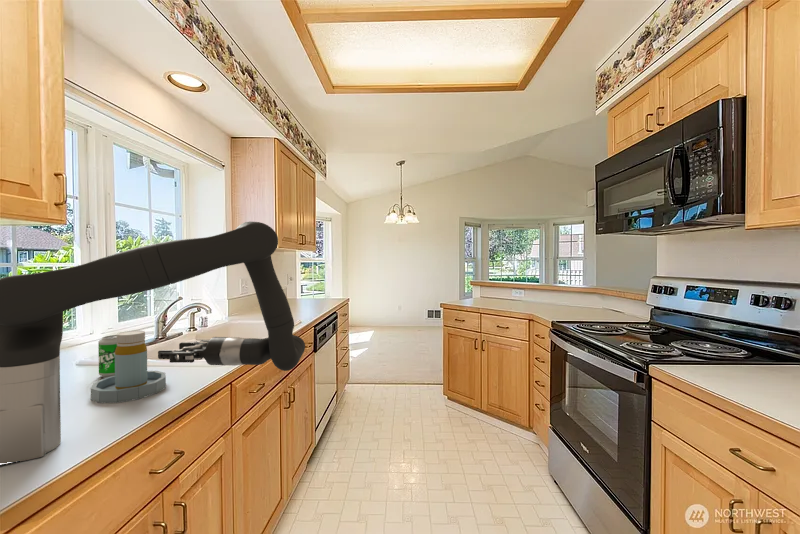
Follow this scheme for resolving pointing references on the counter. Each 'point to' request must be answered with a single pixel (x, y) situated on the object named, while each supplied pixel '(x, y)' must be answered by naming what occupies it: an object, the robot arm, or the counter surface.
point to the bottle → (130, 360)
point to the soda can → (107, 355)
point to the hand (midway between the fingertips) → (169, 350)
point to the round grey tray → (127, 389)
